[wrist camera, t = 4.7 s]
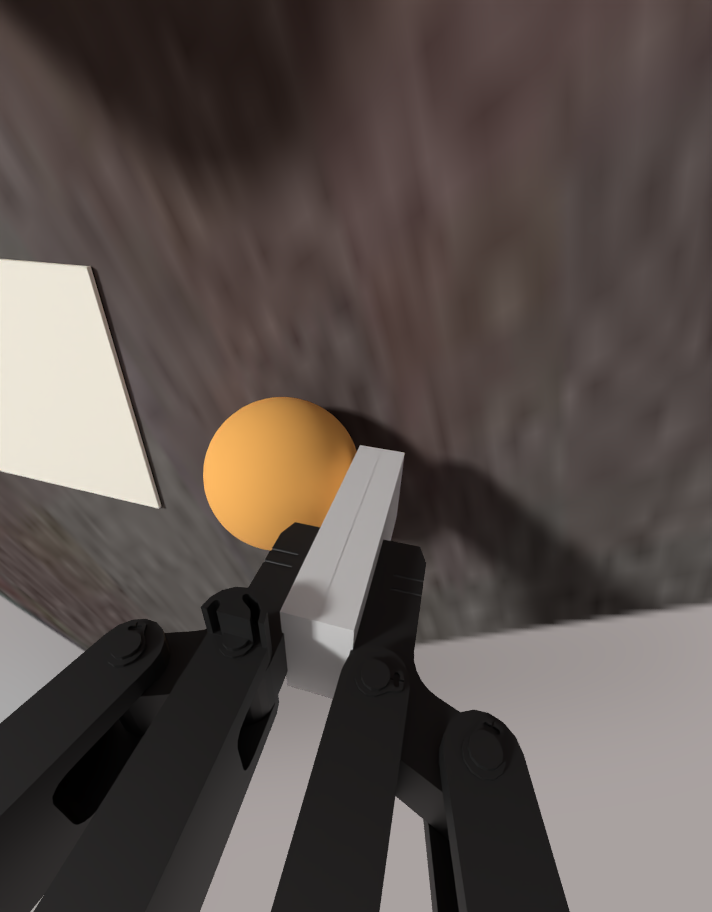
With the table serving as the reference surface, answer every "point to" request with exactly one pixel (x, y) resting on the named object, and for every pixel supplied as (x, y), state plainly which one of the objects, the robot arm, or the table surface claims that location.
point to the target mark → (65, 386)
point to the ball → (275, 468)
